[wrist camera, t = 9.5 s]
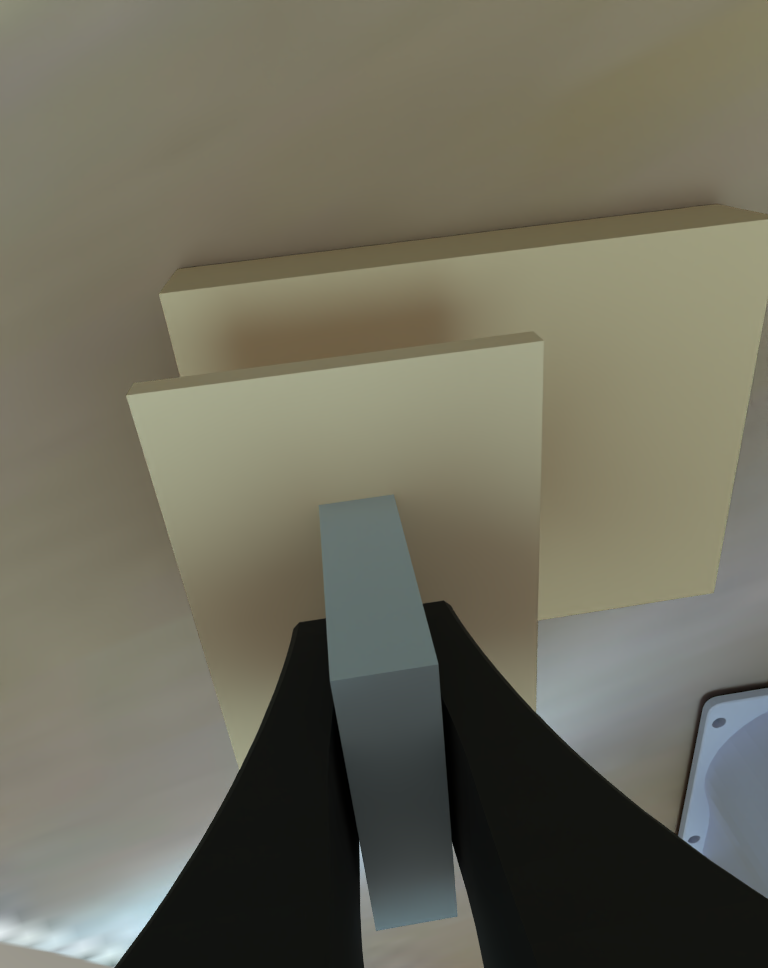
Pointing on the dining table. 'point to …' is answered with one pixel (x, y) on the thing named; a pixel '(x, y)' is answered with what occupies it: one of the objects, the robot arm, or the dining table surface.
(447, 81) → the dining table surface
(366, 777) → the flap
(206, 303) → the panel
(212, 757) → the dining table surface
